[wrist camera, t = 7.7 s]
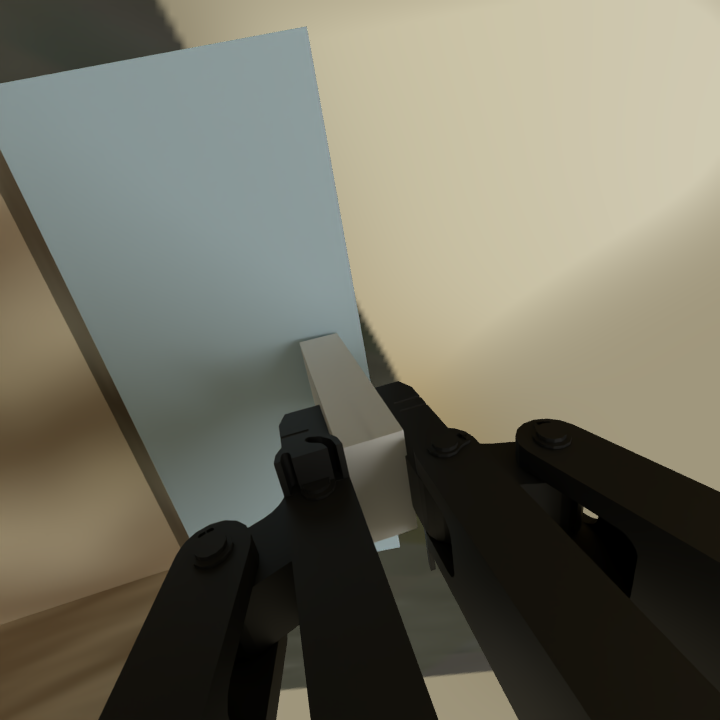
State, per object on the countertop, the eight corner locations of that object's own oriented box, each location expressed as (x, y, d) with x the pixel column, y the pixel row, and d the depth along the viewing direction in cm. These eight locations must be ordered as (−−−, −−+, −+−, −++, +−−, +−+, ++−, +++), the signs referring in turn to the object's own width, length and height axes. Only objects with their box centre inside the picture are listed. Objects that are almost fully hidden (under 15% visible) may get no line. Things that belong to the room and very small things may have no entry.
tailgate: (-30, 89, 10) (306, 26, 10) (24, 103, 12) (309, 49, 12) (211, 582, 18) (400, 547, 18) (221, 546, 20) (393, 514, 20)
